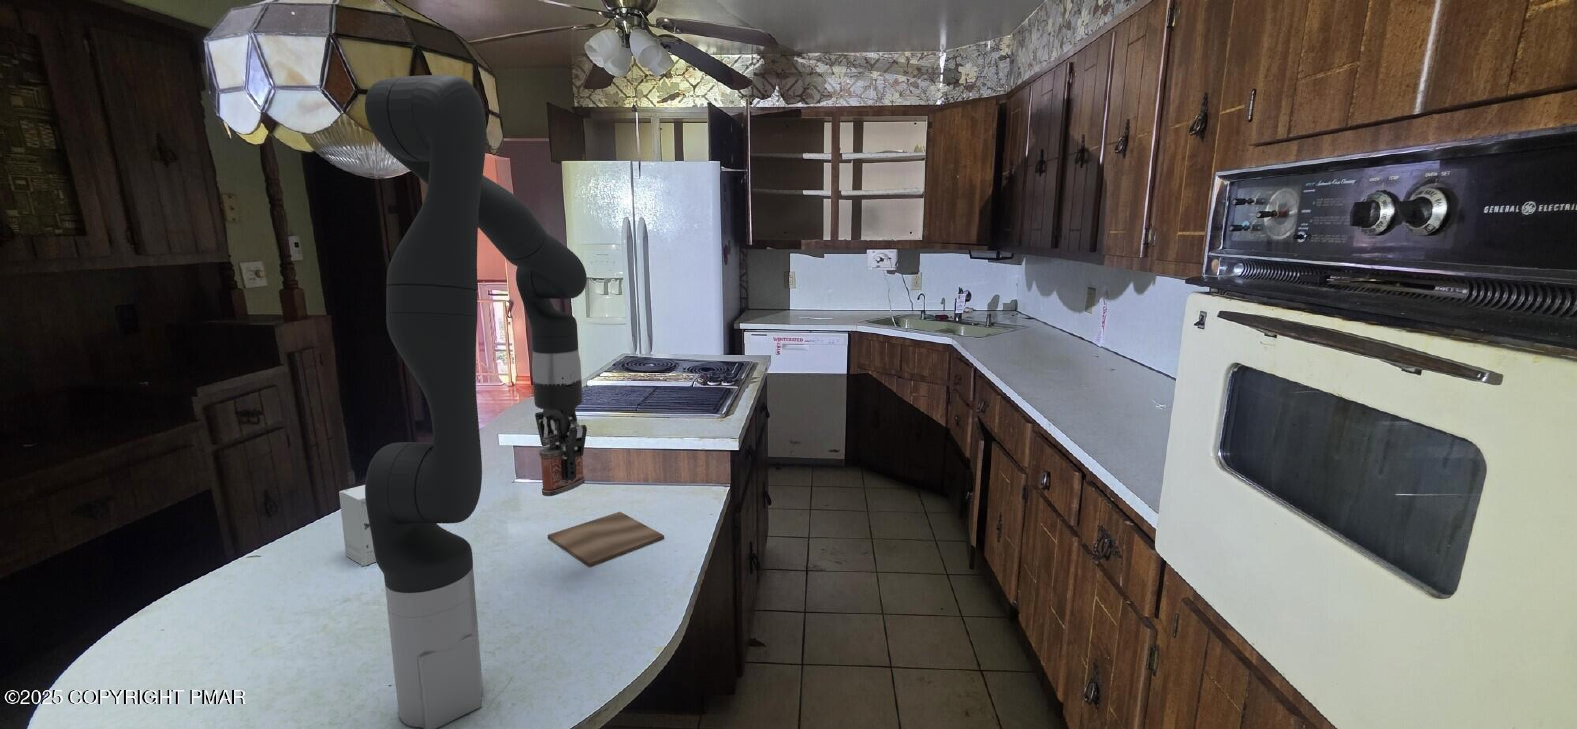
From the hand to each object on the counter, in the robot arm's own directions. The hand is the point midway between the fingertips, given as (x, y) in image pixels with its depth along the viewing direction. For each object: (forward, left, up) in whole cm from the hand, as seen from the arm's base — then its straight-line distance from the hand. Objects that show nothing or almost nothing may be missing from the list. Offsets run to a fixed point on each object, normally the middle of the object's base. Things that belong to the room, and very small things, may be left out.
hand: (563, 475), depth 107 cm
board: (+7, -12, -18) cm, 22 cm away
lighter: (0, 0, -2) cm, 2 cm away
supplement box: (+31, +21, -18) cm, 42 cm away
